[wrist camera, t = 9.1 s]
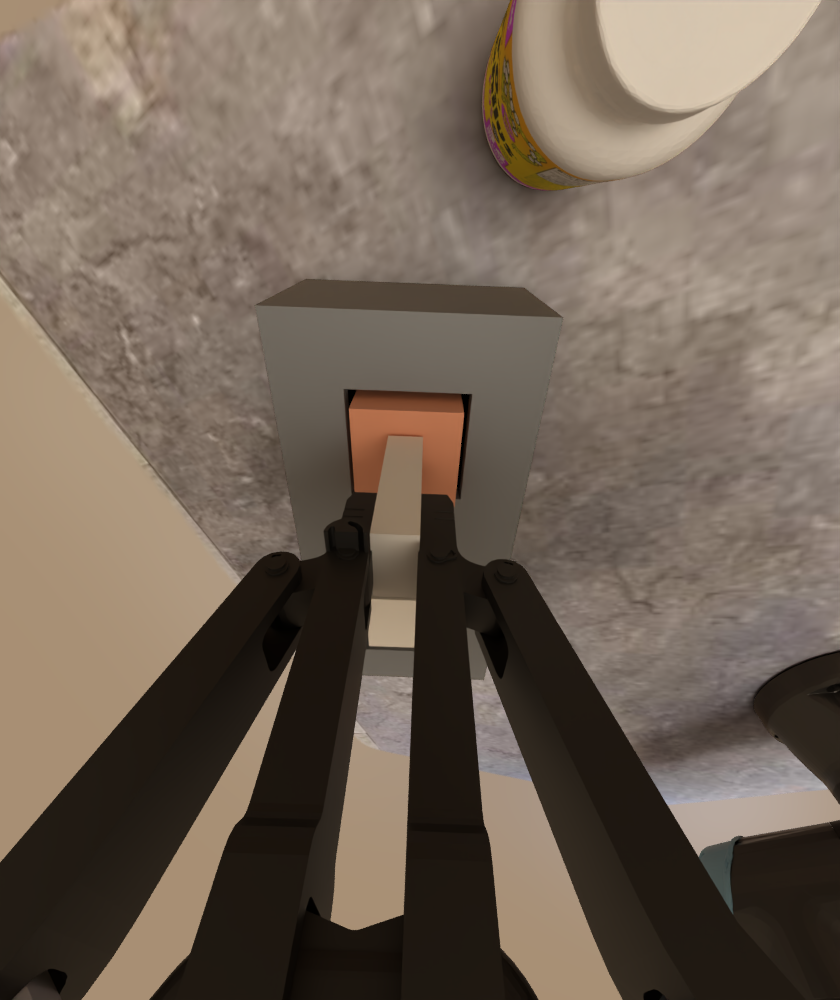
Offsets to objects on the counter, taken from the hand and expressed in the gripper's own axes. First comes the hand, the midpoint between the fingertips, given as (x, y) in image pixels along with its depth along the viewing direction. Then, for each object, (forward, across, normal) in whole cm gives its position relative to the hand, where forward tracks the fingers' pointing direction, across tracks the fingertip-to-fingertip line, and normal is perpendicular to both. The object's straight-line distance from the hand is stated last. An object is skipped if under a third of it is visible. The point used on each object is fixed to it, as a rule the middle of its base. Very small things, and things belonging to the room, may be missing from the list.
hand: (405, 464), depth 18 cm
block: (+9, 0, +6) cm, 11 cm away
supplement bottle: (+10, -6, -14) cm, 18 cm away
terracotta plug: (+7, 0, 0) cm, 7 cm away
